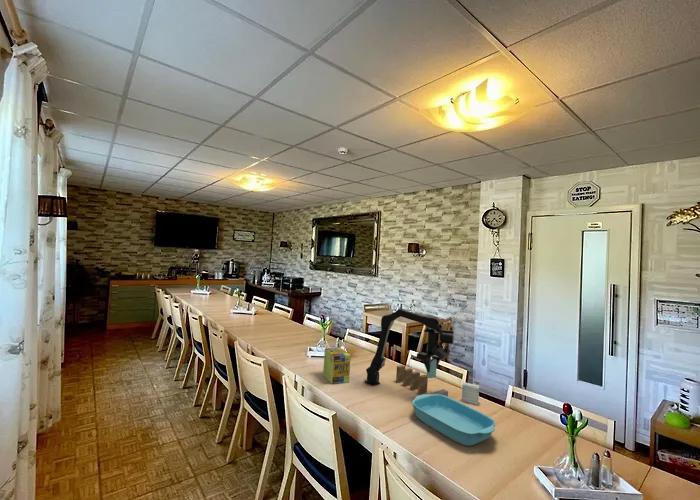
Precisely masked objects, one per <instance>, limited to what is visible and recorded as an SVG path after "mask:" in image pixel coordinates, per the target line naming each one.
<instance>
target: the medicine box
mask: <svg viewBox="0 0 700 500" xmlns="http://www.w3.org/2000/svg"><path fill="white" fill-rule="evenodd" d="M461 386H462V389H461V391H462V392H461V403H467V404H471V405H476V406H479V400H480V399H479V398H480V397H479V396H480V385H479V384H474V383H469V382H465V381H464V382H463V383H462V385H461Z"/></svg>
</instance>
